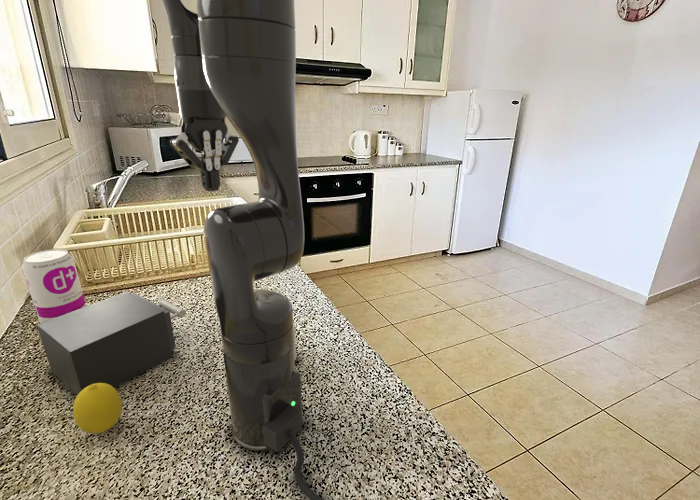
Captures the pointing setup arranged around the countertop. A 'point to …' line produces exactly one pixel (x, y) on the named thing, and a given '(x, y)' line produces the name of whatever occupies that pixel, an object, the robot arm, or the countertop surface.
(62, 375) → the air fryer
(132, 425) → the countertop surface
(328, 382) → the countertop surface
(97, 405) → the lemon
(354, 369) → the countertop surface
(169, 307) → the fryer drawer
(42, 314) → the supplement can
